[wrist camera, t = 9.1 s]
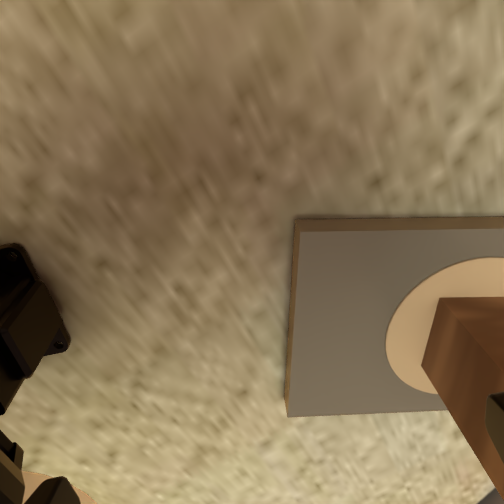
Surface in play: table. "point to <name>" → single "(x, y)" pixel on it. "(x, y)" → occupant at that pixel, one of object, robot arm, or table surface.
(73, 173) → the table surface
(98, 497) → the table surface
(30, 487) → the honey pot
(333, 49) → the table surface
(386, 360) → the slate board
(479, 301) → the walnut block
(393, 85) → the table surface
